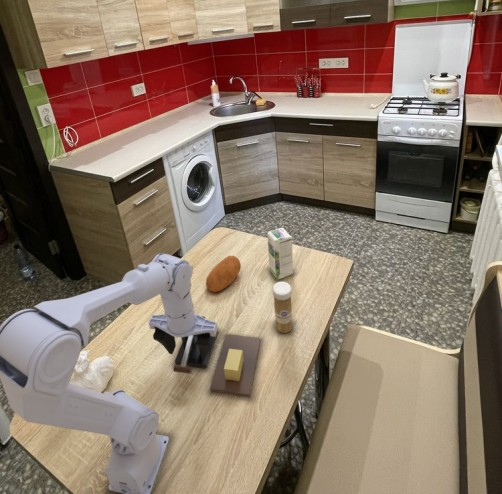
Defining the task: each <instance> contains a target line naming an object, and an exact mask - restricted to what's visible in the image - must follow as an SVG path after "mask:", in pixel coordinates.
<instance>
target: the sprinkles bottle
mask: <svg viewBox="0 0 502 494" xmlns="http://www.w3.org/2000/svg"><path fill="white" fill-rule="evenodd" d="M272 294H273V300H274V301H273V304H274V305H273V306H274V318H275V329H276V330H277V331H278V332H279V333H282V334H286V333H289V332H290V331H292V330H293V308H292V307H293V305H292V286H291V284H290V283H288V282H286V281H277V282H276V283H274V285H273V287H272Z"/></svg>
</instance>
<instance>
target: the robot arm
mask: <svg viewBox="0 0 502 494" xmlns="http://www.w3.org/2000/svg"><path fill="white" fill-rule="evenodd" d="M193 267H194V266H192V265H190V263H189V261H188V260H186V259H183V258H179V257H177V256H174V255H171V254H169V253H158V254H156V255H155V256H154V257H153V258H152V260H150V262H148V263H147V264H144V263H140V264H138V265H137V268H135V269H132V270H129V271H127V272H126V273H125V274H124V275H123V277H122V279H121V281H118V282H116V283H113V284H109V285H106V286H103V287H100V288H96V289H93V290H91V291H87V292H84V293H81V294H78V295H75V296H72V297H71V296H70V297H67V298H60V299H54V300H46V301H45V300H44V301H42V302H40V303H38V304H36V305H33V307H34V308H35V309H34V308H25V309H21V310H19V311H16V312H14V313H13V314H11V315H10V316H9V317H8V318H6V319H5V320H4V321H3V322H2V323H1V325H0V383H1V384H2V387H3V391H4V393H5V395H6V399H7V402H8V404H9V408H11V410H12V411H13V412H14V413H15V414H16V415H17V416H19V417H20V418H21V419H23V420H24V421H25V422H26V423H31V424H38V425H45V426H50V427H57V428H62V429H68V430H75V431H79V432H87V433H93V434H99V435H105V436H107V437H109V439H110V443H111V449H110V456H109V459H108V462H107V465H106V467H105V469H104V475H105V477H106V479H107V481H108V488H107V489H108V490H109V491H111V492H115V493H119V494H151V493H152V491H153V487H154V485H155V482H156V478H157V476H158V474H159V470H160V468H161V464H162V462H163V458H164V455H165V453H166V450H167V447H168V444H169V441H170V438H169V436H167V435H161V434H157V430H158V427H159V420H160V418H159V413H158V411H157V410H155V409H151V408H150V407H148V406H147V405H145V404H143V403H142V402H140V401H139V400H137V398H136V399H135V398H134V397H132V396H131V395H129V393H126V391H125V390H123V389H121V388H118V389H115V390H113V391H108V390H107V391H106V390H104V391H103V392H102V393H100V392H96V391H93V390H90V389H87V388H83V387H80V386H77V385H73V384H70V381H71V380H72V376H73V375H74V369H75V366H76V363H77V361H78V358H79V355H80V352H82V351H81V350H82V347H83V348H86V347H87V346H88V343H89V339H90V330H91V325H92V324H94V323H95V322H96V321H98V320H100V319H101V318H103V317H106V316H107V315H108V314H110V313H112V312H114V311H116V310H117V309H119V308H121V307H122V306H124V305H126V304H128V303H129V304H131V305H133V306H139V305H141V304H143V303H145V302H148V301H150V300H152V299H153V298H156V297H157V296H159V295H160V298H161V302H162V306H163V310H164V313H162V314H152V315H151V317H150V319H149V320H148V326H149V329H151V330H154V333H153V334H152V338H153V340H154V341H157V342H158V343H159V344H161V346H162V347H164V349H165V350H166V351H167V353H168V354H169V355H173V354H174V351H175V350H176V347H177V343H176V342H177V341H176V338H181V337H186V336H191V335H197V334H199V336H198V339H197V341H196V345H197V346H198V347H199V349H200V352H201V357H202V359H206V356H207V353H208V346H209V340H210V338H211V336H213V337H215V335H216V333H217V329H218V330H219V328H218V322H217V321H213V320H209V319H207V318H206V317H205V318H203V317H201V315H200V314H197V313H195V307H194V303H193V298H192V293H191V289H192V277H193V273H194V268H193ZM36 309H37V310H36Z"/></svg>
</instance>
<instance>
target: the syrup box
mask: <svg viewBox="0 0 502 494" xmlns="http://www.w3.org/2000/svg"><path fill="white" fill-rule="evenodd" d="M266 234H267V248H268V249H267V250H268V265H269V266H268V267H269V271H270V273H271V274H272V275H273V276H274V278H275V279H276V280H277V281H279V280H282V279H284V278H287V277H288V276H291V275H293V274H294V265H293V263H294V262H293V260H294V259H293V236H292V235H291V234H290V233H289V232H288V231H287V230H286V229H285V228H284V227H279V228H276V229H273V230H270V231H268V232H267V233H266Z"/></svg>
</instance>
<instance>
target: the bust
mask: <svg viewBox="0 0 502 494" xmlns="http://www.w3.org/2000/svg"><path fill="white" fill-rule="evenodd" d="M90 352H91V351H90V349H88V350H82V351H80V355H79V358H78V361H77V363H76V366H75V369H74V371H73V377H71V379H70V382H69V383H70V384H73V385H77V386H80V387H83V388H87V389H90V390H93V391H96V392H100V393H103V392H104V391H105V389H106V388H107V387H108V384H109V382H110V380H111V379H112V377H113V375H114V373H115V365H114V361H113V359H112V358H111V356H109V355H103V356H100V357H97V358H94V359H92V361H90V359H89V358H88V357H91V354H90Z"/></svg>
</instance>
